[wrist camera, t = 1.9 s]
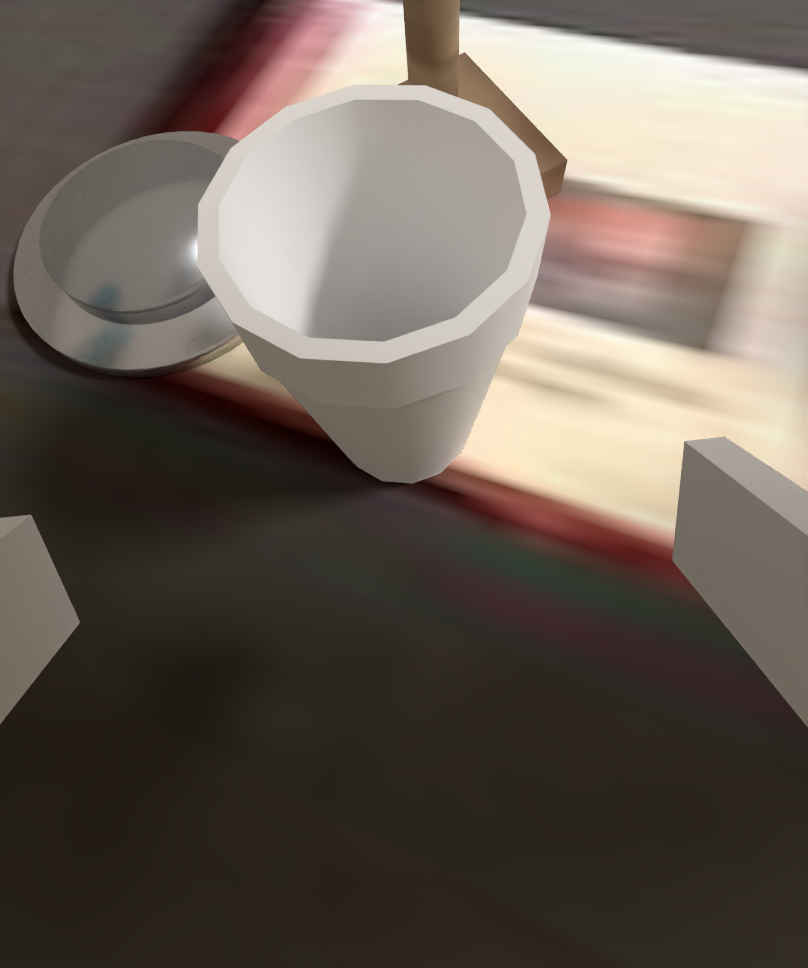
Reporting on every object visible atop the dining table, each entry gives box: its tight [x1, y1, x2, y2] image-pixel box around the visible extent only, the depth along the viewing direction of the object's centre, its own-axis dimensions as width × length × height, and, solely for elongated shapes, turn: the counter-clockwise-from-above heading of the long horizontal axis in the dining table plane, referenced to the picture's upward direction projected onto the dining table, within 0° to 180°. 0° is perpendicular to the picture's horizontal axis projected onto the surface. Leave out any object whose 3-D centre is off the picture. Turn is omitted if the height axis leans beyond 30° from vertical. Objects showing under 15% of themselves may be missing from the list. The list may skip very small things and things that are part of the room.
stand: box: [398, 0, 567, 199], centre depth 26 cm, size 10×10×12 cm
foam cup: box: [197, 85, 551, 483], centre depth 21 cm, size 10×9×13 cm
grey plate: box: [13, 131, 243, 378], centre depth 31 cm, size 16×16×2 cm
